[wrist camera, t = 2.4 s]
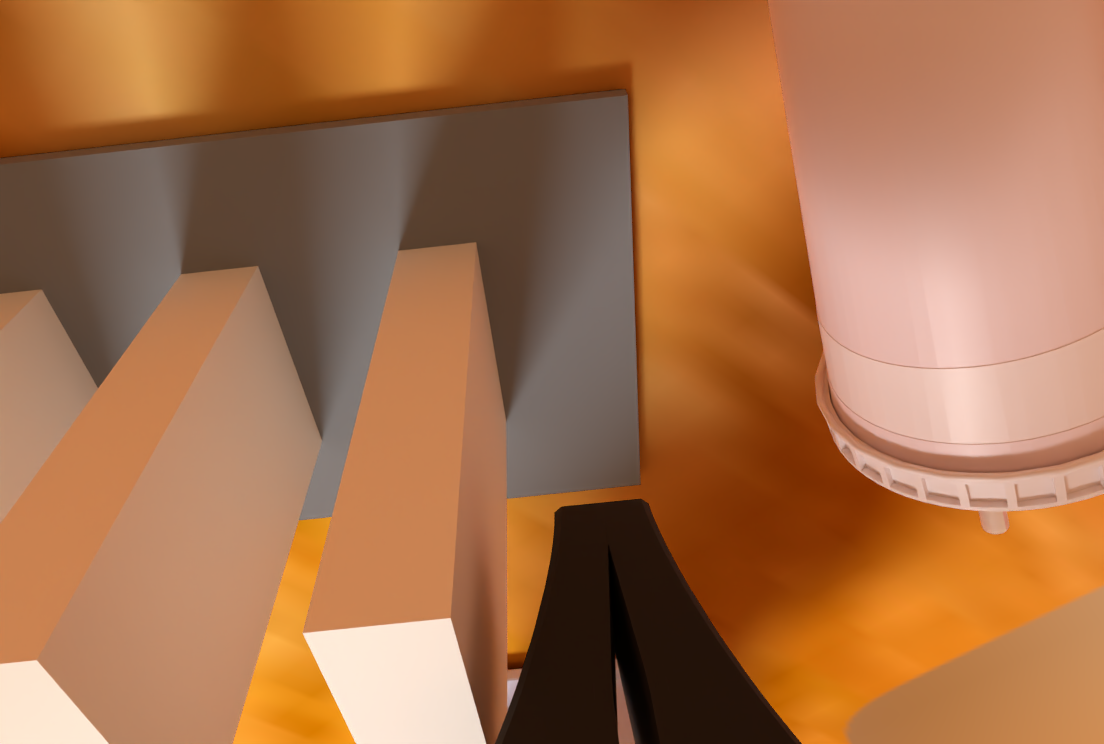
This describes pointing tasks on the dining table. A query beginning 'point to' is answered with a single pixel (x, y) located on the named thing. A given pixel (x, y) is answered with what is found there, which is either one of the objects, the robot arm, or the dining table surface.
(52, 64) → the dining table surface
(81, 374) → the domino
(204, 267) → the runner mat
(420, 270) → the domino
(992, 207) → the smoothie
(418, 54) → the dining table surface
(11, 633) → the domino
